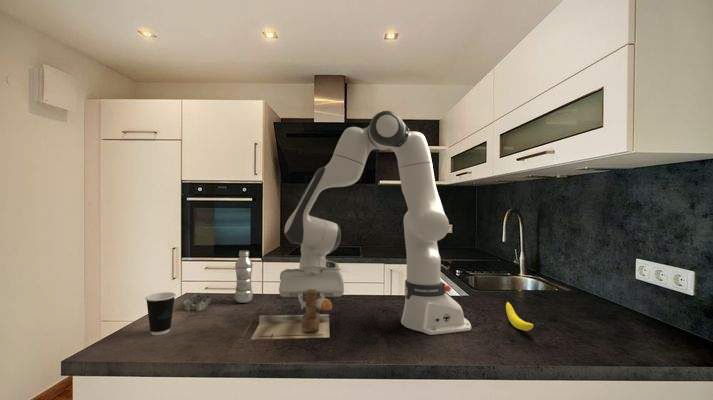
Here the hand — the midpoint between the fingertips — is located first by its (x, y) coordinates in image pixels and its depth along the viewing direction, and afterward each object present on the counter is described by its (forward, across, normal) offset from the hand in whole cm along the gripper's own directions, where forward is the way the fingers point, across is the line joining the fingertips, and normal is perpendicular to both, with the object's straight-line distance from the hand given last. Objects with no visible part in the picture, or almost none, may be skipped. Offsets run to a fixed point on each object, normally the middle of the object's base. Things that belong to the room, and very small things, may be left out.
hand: (311, 308), depth 101 cm
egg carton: (-14, -43, +26) cm, 52 cm away
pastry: (-10, +4, +22) cm, 24 cm away
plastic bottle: (-17, -27, +29) cm, 43 cm away
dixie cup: (+3, -45, +9) cm, 46 cm away
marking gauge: (+4, 0, +5) cm, 6 cm away
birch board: (+5, -5, +6) cm, 10 cm away
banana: (+5, +67, +6) cm, 67 cm away
